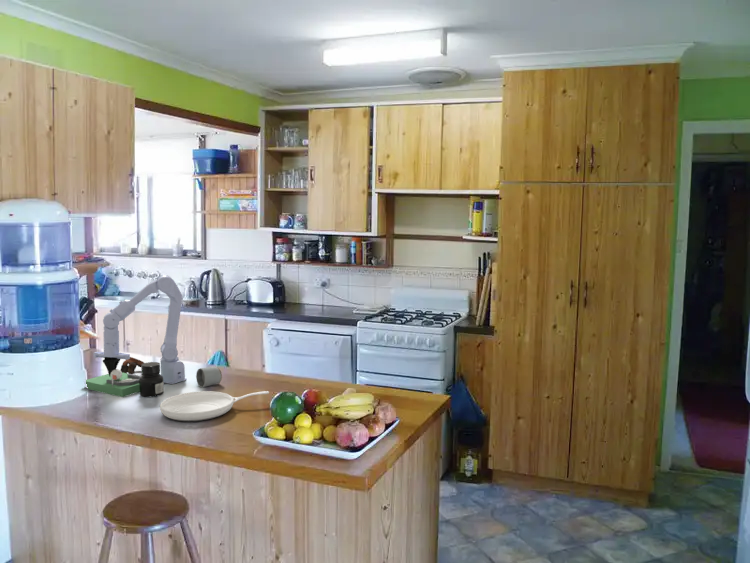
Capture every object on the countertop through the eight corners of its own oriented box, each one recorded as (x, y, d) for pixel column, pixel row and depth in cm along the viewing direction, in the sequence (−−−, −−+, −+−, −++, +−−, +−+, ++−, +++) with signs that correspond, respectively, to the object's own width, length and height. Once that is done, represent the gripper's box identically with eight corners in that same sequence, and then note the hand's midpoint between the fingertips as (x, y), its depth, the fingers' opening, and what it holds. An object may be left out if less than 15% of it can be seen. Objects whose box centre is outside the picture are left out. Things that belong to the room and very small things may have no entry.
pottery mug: (117, 373, 270) (125, 355, 273) (138, 381, 273) (146, 363, 276) (118, 373, 259) (127, 354, 262) (140, 380, 262) (148, 362, 265)
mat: (156, 386, 248) (155, 376, 248) (122, 397, 235) (121, 386, 234) (117, 378, 260) (116, 368, 260) (83, 387, 247) (82, 377, 246)
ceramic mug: (223, 385, 250) (222, 366, 250) (205, 389, 245) (204, 370, 244) (210, 380, 258) (209, 362, 257) (192, 384, 252) (191, 365, 251)
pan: (159, 406, 225) (158, 393, 224) (263, 394, 238) (262, 382, 237) (161, 428, 201) (160, 414, 201) (276, 415, 215) (275, 401, 214)
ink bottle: (163, 397, 234) (162, 366, 233) (138, 399, 232) (137, 368, 231) (164, 389, 244) (163, 360, 242) (140, 391, 241) (139, 362, 240)
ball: (123, 379, 249) (125, 372, 247) (114, 384, 246) (115, 376, 243) (116, 372, 251) (118, 365, 248) (107, 377, 247) (109, 369, 245)
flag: (118, 395, 237) (116, 374, 236) (116, 395, 237) (115, 375, 236) (113, 394, 238) (112, 373, 237) (112, 394, 238) (111, 374, 237)
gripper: (133, 341, 250) (133, 374, 251) (100, 339, 252) (100, 372, 253) (124, 345, 243) (124, 378, 244) (90, 343, 245) (90, 376, 246)
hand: (111, 375), depth 248 cm, fingers closed
